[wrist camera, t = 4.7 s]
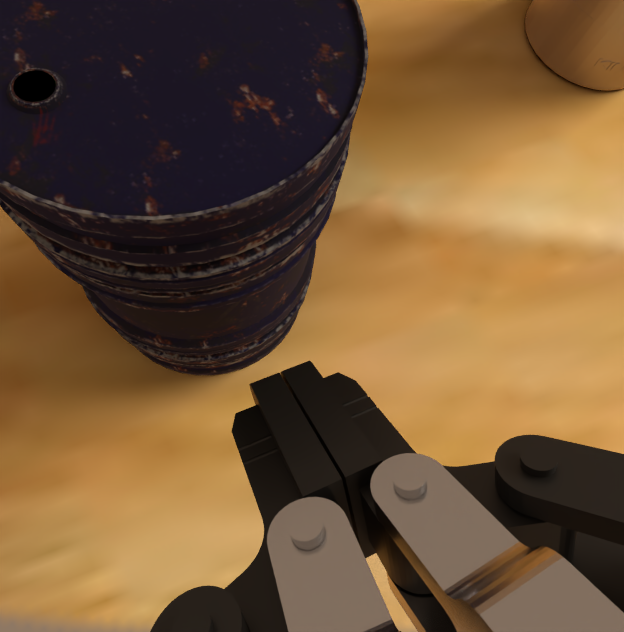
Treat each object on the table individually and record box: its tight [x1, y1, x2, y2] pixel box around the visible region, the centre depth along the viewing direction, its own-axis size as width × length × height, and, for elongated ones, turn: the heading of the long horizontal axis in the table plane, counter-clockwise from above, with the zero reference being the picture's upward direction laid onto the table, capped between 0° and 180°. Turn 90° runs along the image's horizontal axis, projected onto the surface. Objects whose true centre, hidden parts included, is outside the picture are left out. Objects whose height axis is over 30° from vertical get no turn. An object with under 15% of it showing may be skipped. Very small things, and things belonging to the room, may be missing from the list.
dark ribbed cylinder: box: [0, 0, 368, 375], centre depth 18 cm, size 10×10×15 cm
